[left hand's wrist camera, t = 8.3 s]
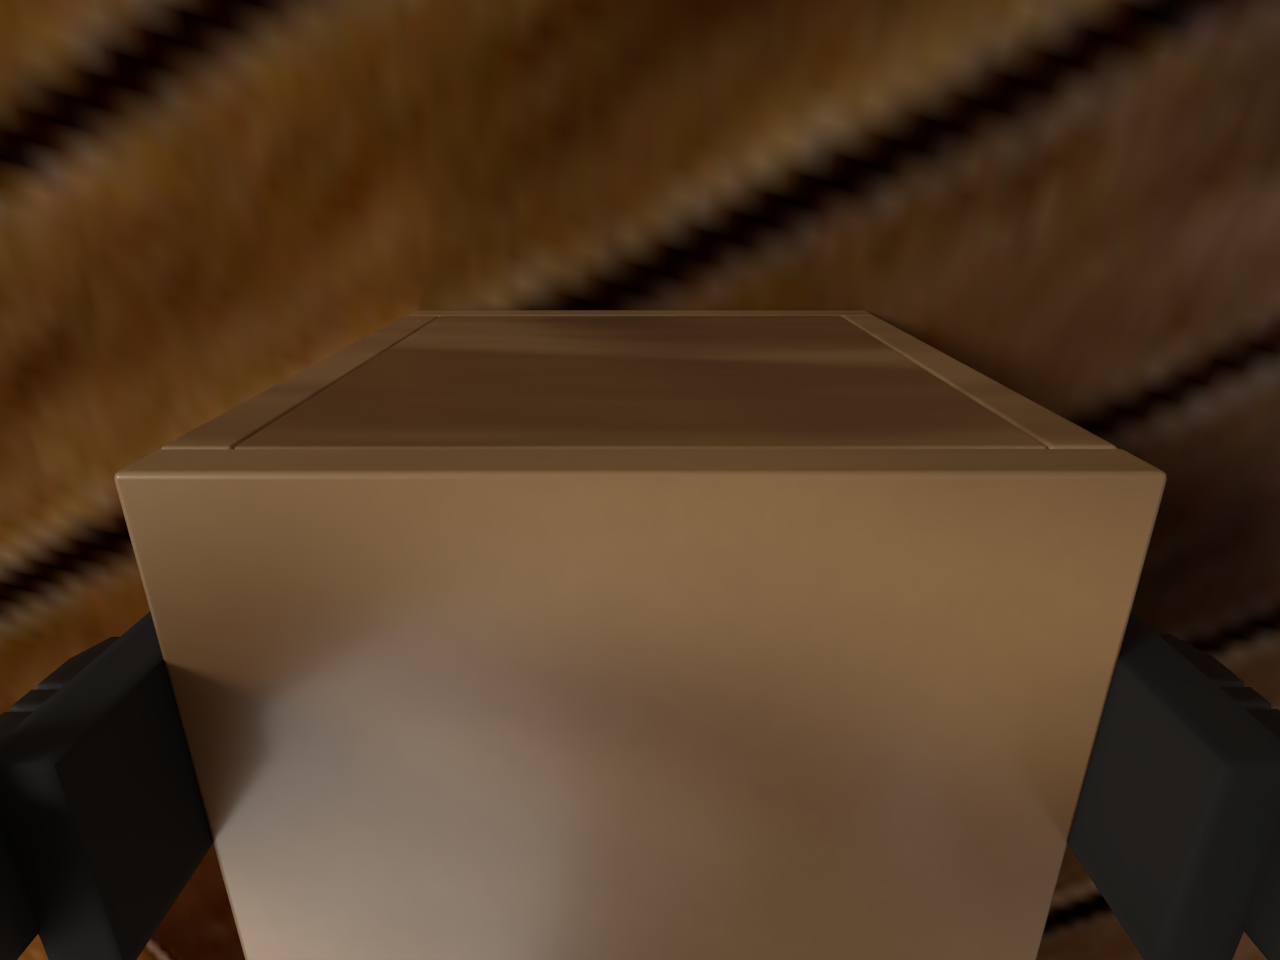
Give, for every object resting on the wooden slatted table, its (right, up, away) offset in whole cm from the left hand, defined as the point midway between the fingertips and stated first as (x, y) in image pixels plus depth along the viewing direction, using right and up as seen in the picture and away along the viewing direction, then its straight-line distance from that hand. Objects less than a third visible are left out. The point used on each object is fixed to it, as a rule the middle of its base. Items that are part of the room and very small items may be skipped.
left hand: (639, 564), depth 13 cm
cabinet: (0, -4, +8) cm, 9 cm away
